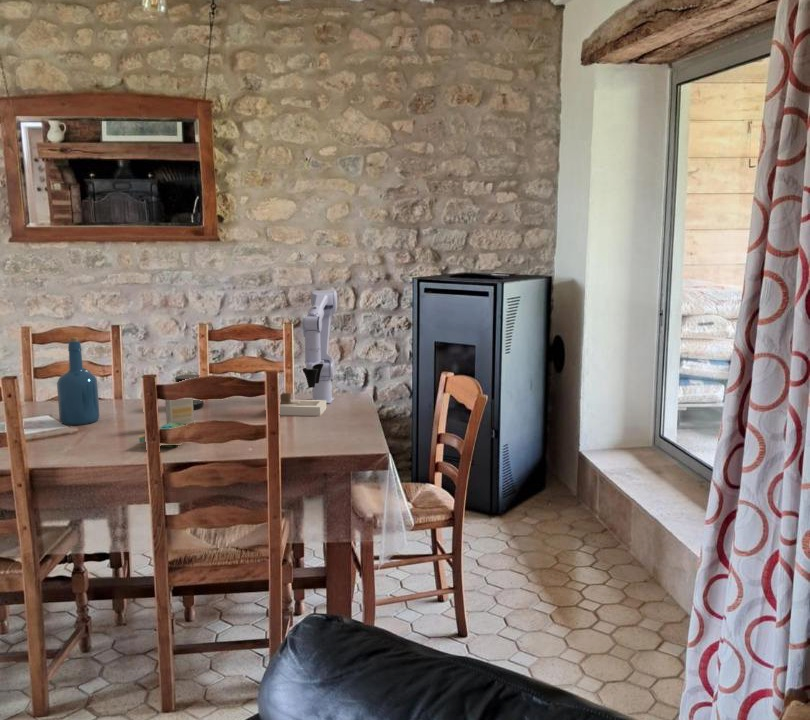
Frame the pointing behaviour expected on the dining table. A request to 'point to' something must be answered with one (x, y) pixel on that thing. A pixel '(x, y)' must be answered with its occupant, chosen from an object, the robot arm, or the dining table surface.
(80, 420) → the wine bottle
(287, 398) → the keyhole slider
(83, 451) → the dining table surface
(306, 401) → the cream rectangular tray
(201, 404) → the supplement container
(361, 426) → the dining table surface
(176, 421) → the supplement box
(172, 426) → the puzzle game
